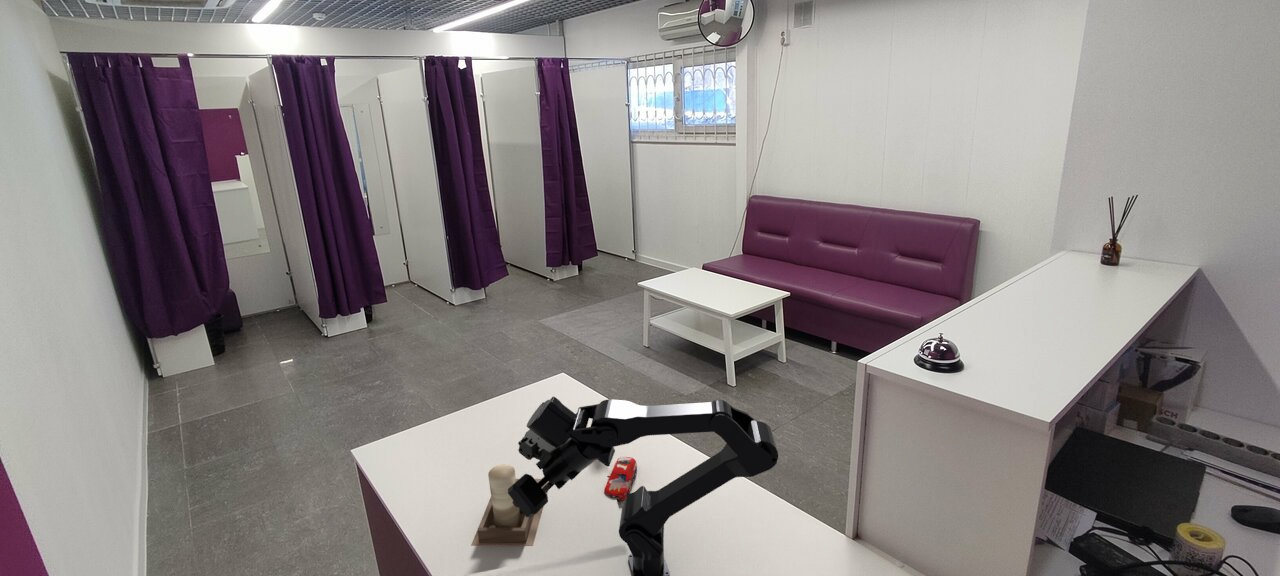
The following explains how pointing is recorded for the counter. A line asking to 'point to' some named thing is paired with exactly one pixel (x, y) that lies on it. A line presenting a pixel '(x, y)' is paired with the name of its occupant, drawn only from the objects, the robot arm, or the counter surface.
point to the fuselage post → (503, 497)
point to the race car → (621, 478)
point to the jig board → (507, 529)
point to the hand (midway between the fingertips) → (530, 489)
